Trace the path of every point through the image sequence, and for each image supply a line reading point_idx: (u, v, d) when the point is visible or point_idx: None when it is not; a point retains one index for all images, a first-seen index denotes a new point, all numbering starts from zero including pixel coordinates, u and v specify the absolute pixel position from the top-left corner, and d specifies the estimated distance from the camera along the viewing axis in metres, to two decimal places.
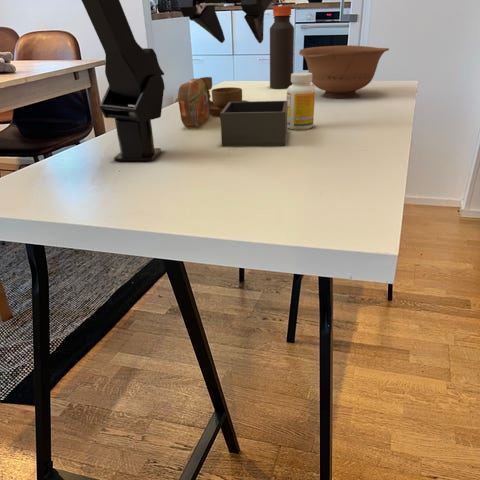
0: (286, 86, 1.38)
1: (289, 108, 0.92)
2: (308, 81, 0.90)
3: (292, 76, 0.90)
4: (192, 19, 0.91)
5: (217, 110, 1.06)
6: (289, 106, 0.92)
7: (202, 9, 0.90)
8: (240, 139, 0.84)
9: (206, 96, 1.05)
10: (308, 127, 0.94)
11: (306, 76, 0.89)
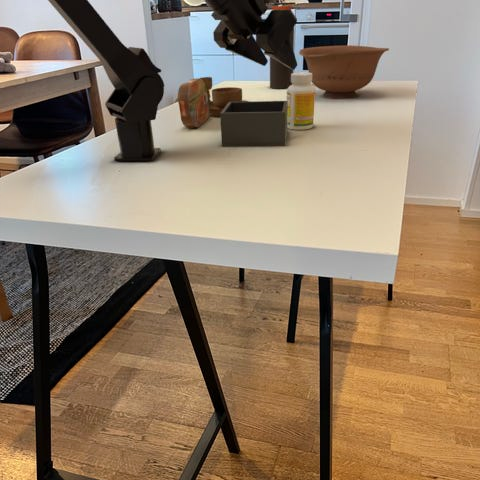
0: (286, 86, 1.38)
1: (289, 108, 0.92)
2: (308, 81, 0.90)
3: (292, 76, 0.90)
4: (227, 50, 0.88)
5: (217, 110, 1.06)
6: (289, 106, 0.92)
7: (236, 38, 0.86)
8: (240, 139, 0.84)
9: (206, 96, 1.05)
10: (308, 127, 0.94)
11: (306, 76, 0.89)
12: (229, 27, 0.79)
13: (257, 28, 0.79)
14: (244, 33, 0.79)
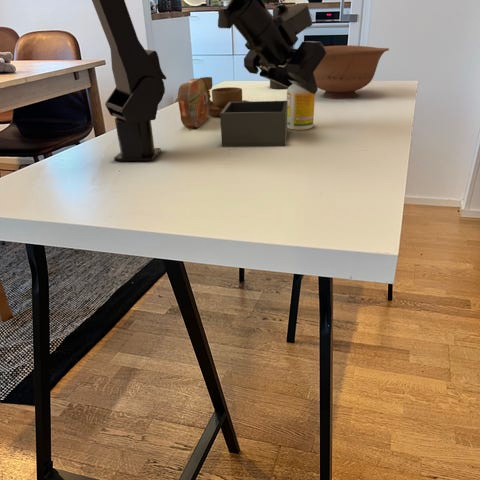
0: None
1: (289, 108, 0.92)
2: None
3: None
4: (262, 76, 0.92)
5: (217, 110, 1.06)
6: (289, 106, 0.92)
7: None
8: (240, 139, 0.84)
9: (206, 96, 1.05)
10: (308, 127, 0.94)
11: None
12: (261, 56, 0.84)
13: (288, 57, 0.84)
14: (276, 62, 0.84)
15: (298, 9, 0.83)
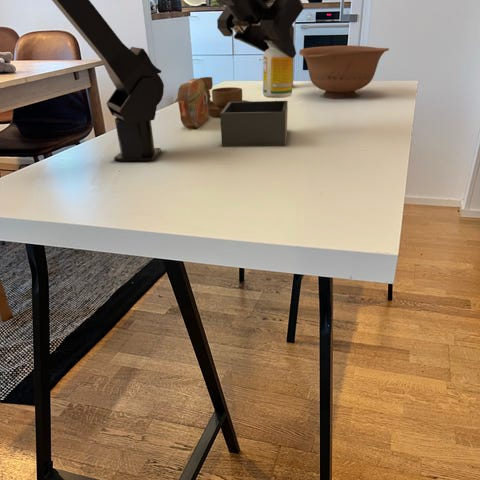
0: None
1: (265, 74, 0.85)
2: None
3: None
4: (236, 38, 0.85)
5: (217, 110, 1.06)
6: (265, 71, 0.85)
7: (245, 27, 0.83)
8: (240, 139, 0.84)
9: (206, 96, 1.05)
10: (286, 95, 0.87)
11: None
12: (234, 13, 0.77)
13: (262, 15, 0.77)
14: (249, 19, 0.77)
15: None
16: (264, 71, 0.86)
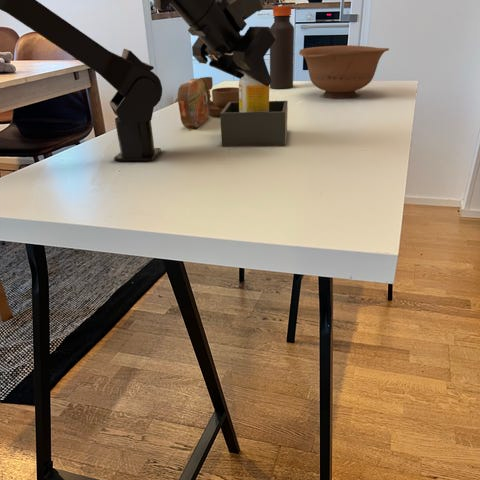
0: (286, 86, 1.38)
1: (241, 101, 0.84)
2: None
3: None
4: (211, 66, 0.84)
5: (217, 110, 1.06)
6: (241, 99, 0.84)
7: None
8: (240, 139, 0.84)
9: (206, 96, 1.05)
10: None
11: None
12: (206, 43, 0.76)
13: (235, 45, 0.76)
14: (221, 49, 0.76)
15: None
16: (240, 99, 0.85)
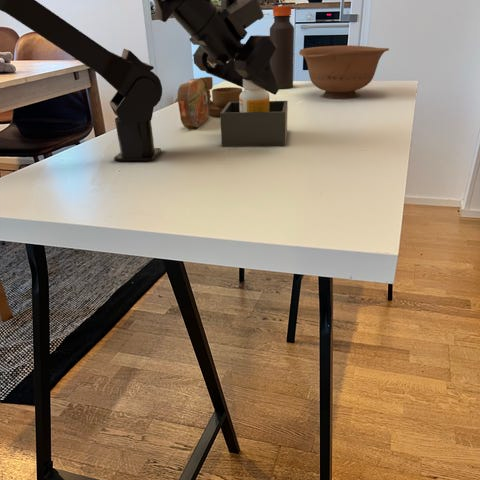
0: (286, 86, 1.38)
1: None
2: None
3: (244, 81, 0.83)
4: (208, 73, 0.86)
5: (217, 110, 1.06)
6: None
7: None
8: (240, 139, 0.84)
9: (206, 96, 1.05)
10: None
11: None
12: (207, 52, 0.77)
13: (236, 53, 0.76)
14: (223, 58, 0.77)
15: (247, 0, 0.76)
16: None
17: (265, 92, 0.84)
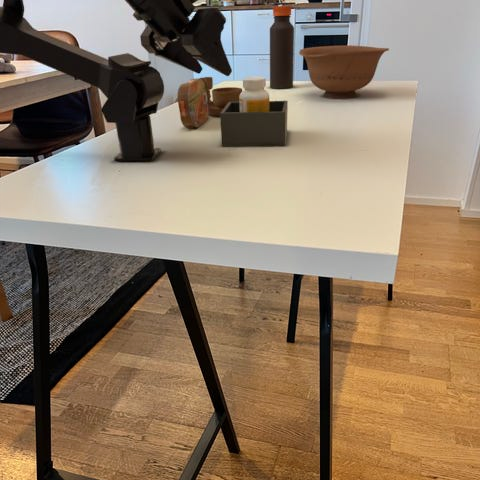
0: (286, 86, 1.38)
1: None
2: (261, 86, 0.83)
3: (244, 81, 0.83)
4: (157, 55, 0.80)
5: (217, 110, 1.06)
6: None
7: (165, 43, 0.79)
8: (240, 139, 0.84)
9: (206, 96, 1.05)
10: None
11: (258, 81, 0.82)
12: (153, 28, 0.71)
13: (184, 29, 0.71)
14: (169, 35, 0.71)
15: None
16: None
17: (265, 92, 0.84)
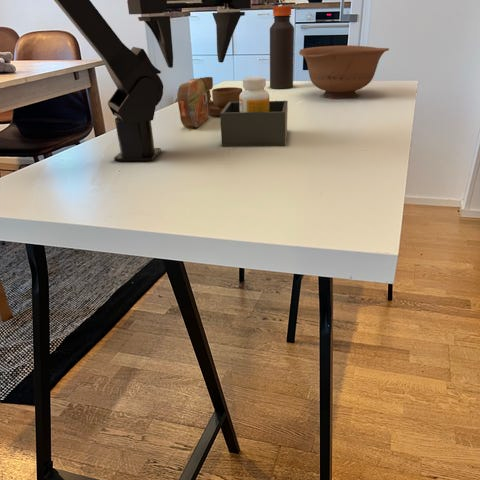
0: (286, 86, 1.38)
1: None
2: (261, 86, 0.83)
3: (244, 81, 0.83)
4: (158, 18, 0.69)
5: (217, 110, 1.06)
6: None
7: None
8: (240, 139, 0.84)
9: (205, 96, 1.05)
10: None
11: (258, 81, 0.82)
12: None
13: None
14: None
15: None
16: None
17: (265, 92, 0.84)
